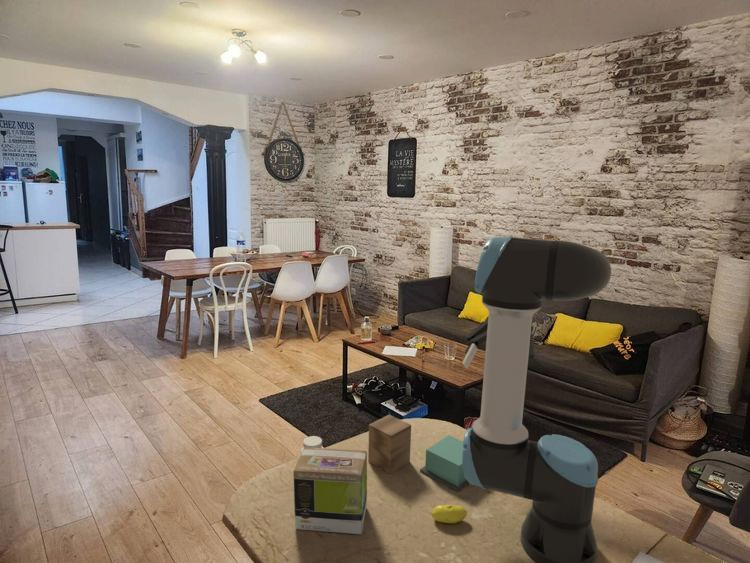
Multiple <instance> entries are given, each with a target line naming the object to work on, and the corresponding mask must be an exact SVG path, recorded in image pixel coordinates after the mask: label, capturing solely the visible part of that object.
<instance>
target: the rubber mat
mask: <svg viewBox="0 0 750 563" xmlns="http://www.w3.org/2000/svg"><path fill="white" fill-rule="evenodd" d="M419 472H420V473H422V474H424V475H426V476H428V477H429V476H430V477H429V478H431V479H433V480H435V481H437V482H438V483H441V484H442V483H443V485H444V486H446V485H447V486H446V487H448V486H449V487H448V488H450V489H451V490H454V491H456V492H458V493H459V492H461V491H462V490H463V489H464V488H465V487H467V486H468V485H469V484H470V483H469V482H468V481H467V480H465V481H464V482H463V483H462V484H460V485H459V486H456V485H454V484H452V483H450V482H448V481H446V480H445V479H443V478H441V477H439V476H437V475H435V474H433V473H431V472H429V471H427V470H426V469H425V466H423V467H422V468H420V469H419ZM467 484H468V485H467ZM462 488H463V489H462Z"/></svg>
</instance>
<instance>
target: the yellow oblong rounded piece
mask: <svg viewBox="0 0 750 563" xmlns="http://www.w3.org/2000/svg"><path fill="white" fill-rule="evenodd" d="M467 516H468V511H467V510H466V508H464V506H462V505H454V504H442V505H440V504H438V505H436V506H434V507H433V509H432V512H431V517H432V518H433V520H434V521H437V522H440V523H442V524H443V523H445V524H457V523H460V522H462V521H463V520H465V519H466V518H467Z"/></svg>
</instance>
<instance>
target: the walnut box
mask: <svg viewBox="0 0 750 563" xmlns="http://www.w3.org/2000/svg"><path fill="white" fill-rule="evenodd" d="M411 440H412V424H410V423H408V422H406V421H404V420H402V419H400V418H397V417H395V416H393V415H391V414H387V415H385V416H383V417H381V418H379V419H377V420H375V421H373V422H372V423H369V424H368V450H367V451H368V452H367V462H368V461H369V462H368V463H369V464H372V465H373V464H374V465H373V466H375V465H376V466H375V467H377V468H379V469H380V468H381V469H380V470H382V471H383V472H386V473H387V472H388V474H389V473H390V474H389V475H392V474H393V473H394V471H395V472H396V471H397V469H398V470H399V469H400V468H402V467H405V465H407V464H408V463H410V462H411V445H412V444H411V443H412V442H411ZM392 472H393V473H392Z"/></svg>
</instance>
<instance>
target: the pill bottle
mask: <svg viewBox="0 0 750 563" xmlns="http://www.w3.org/2000/svg"><path fill="white" fill-rule="evenodd" d="M304 447H309V448H324V446H323V438H321V437H320V436H316V435H312V436H311V435H310V436H307V437H306V438H304V439H303V442H302V448H301V449H300V455H301V453H302V451H303V449H304Z"/></svg>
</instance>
